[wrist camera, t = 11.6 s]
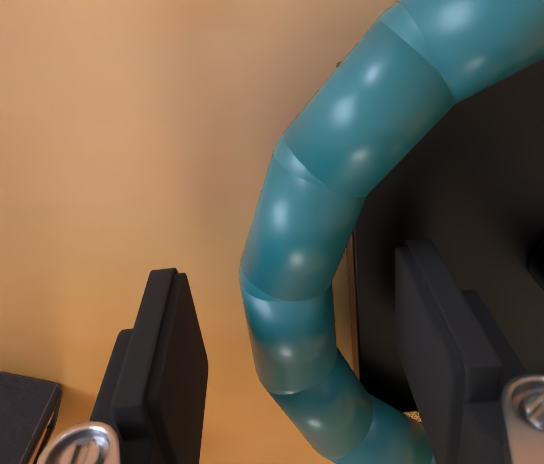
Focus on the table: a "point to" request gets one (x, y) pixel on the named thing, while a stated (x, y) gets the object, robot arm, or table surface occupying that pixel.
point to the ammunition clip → (26, 417)
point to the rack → (458, 227)
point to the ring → (360, 205)
